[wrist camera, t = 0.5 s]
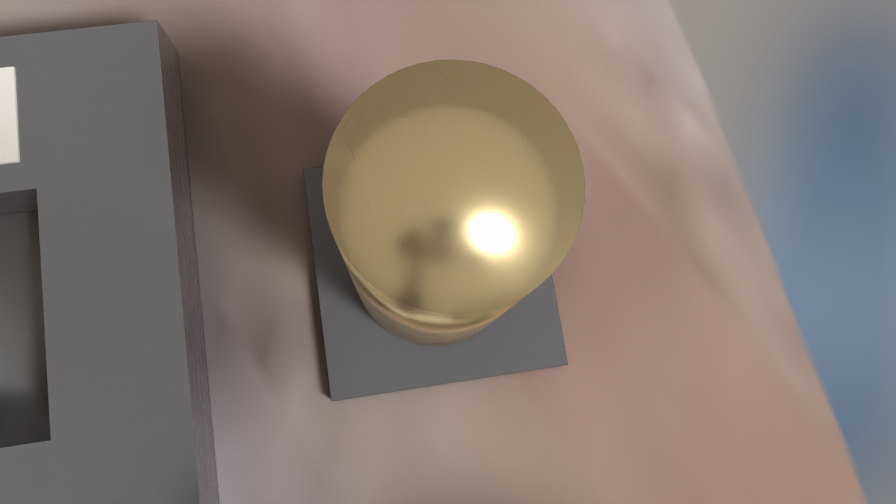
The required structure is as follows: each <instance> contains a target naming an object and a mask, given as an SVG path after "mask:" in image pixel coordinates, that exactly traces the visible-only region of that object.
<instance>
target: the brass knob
mask: <svg viewBox="0 0 896 504" xmlns="http://www.w3.org/2000/svg"><path fill="white" fill-rule="evenodd" d="M322 188H323V202H324V207H325V212H326V217H327V220H328V223H329V226H330V229H331V232H332V234H333V237H334V239H335V241H336V244H337V246H338V248H339V250H340V253H341V255H342V257H343V260H344V262H345V264H346V267H347V269H348V271H349V274H350V276H351V278H352V281H353V283H354V285H355V288H356V290H357V292H358V295H359V297H360V299H361V301H362V303H363V305H364V307H365V308H366V310H367V311H368V313H369V314H370V316H371V317H372V318H373V319H374V320H375V321H376V322H377V323H378V324H379V325H380V326H381V327H382V328H383V329H385V330H386V331H387V332H389V333H391V334H392V335H394V336H396V337H398V338H400V339H402V340H404V341H407V342H410V343H413V344H418V345H424V346H444V345H450V344H454V343H458V342H461V341H463V340H466V339H468V338H470V337H472V336H474V335H476V334H477V333H479V332H480V331H481V330H483V329H484V328H486V327H487V326H488V325H489V324H491V323H492V322H493V321H494V320H496V319H497V318H498V317H500V316H501V315H502V314H503V313H505V312H506V311H507V310H509V309H510V308H511V307H512V306H514V305H515V304H516V303H518V302H519V301H520V300H521V299H523V298H524V297H525V296H527V295H528V294H529V293H530V292H532V291H533V290H534V289H536V288H537V287H538V286H539V285H540V284H541V283H543V282H544V281H545V280H546V279H547V278H548V277H549V276H550V275H551V274H552V273H553V272H554V271H555V269H556V268H557V267H558V266H559V265H560V263H561V262H562V261H563V259H564V258H565V256H566V255H567V253H568V251H569V250H570V248H571V246H572V244H573V242H574V240H575V237H576V235H577V233H578V230H579V227H580V223H581V220H582V216H583V210H584V203H585V176H584V168H583V163H582V159H581V156H580V152H579V149H578V146H577V144H576V141H575V139H574V136H573V134H572V132H571V131H570V129H569V127H568V125H567V124H566V122H565V120H564V119H563V117H562V116H561V115H560V113H559V112H558V111H557V109H556V108H555V107H554V106H553V105H552V104H551V103H550V102H549V101H548V100H547V98H546V97H545V96H544V95H542V94H541V93H540V92H539V91H537V90H536V89H535V88H534V87H533V86H531V85H530V84H528V83H527V82H525V81H524V80H522V79H520V78H519V77H517V76H515V75H513V74H511V73H509V72H507V71H504V70H502V69H500V68H497V67H494V66H490V65H487V64H483V63H478V62H473V61H466V60H435V61H430V62H424V63H419V64H416V65H413V66H409V67H406V68H403V69H401V70H399V71H397V72H394V73H392V74H390V75H388V76H386V77H385V78H383V79H382V80H380V81H378V82H377V83H375V84H374V85H372V86H371V87H370V88H369V89H368V90H366V91H365V92H364V93H363V94H361V96H360V97H359V98H358V99H357V100H356V101H355V102H354V103H353V104H352V105H351V106H350V107H349V109H348V110H347V112H346V113H345V114H344V116H343V117H342V119H341V120H340V122H339V124H338V126H337V128H336V130H335V131H334V133H333V135H332V138H331V141H330V144H329V146H328V149H327V153H326V157H325V162H324V167H323V179H322Z"/></svg>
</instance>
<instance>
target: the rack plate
mask: <svg viewBox="0 0 896 504" xmlns="http://www.w3.org/2000/svg"><path fill="white" fill-rule="evenodd" d="M35 210H38V221H39V239H40V257H41V275H42V293H43V311H44V329H45V347H46V365H47V383H48V401H49V419H50V436H51V440H49V441H42V442H36V443H29V444H23V445H16V446H10V447H3V448H0V504H219V495H218V484H217V473H216V462H215V452H214V441H213V430H212V420H211V409H210V398H209V387H208V377H207V366H206V355H205V344H204V334H203V323H202V312H201V302H200V291H199V280H198V269H197V259H196V248H195V237H194V227H193V216H192V205H191V194H190V184H189V173H188V162H187V152H186V141H185V130H184V119H183V109H182V98H181V87H180V77H179V66H178V55H177V50H176V49H175V47H174V46H173V44H172V43H171V41H170V39H169V38H168V36H167V35H166V33H165V32H164V30H163V29H162V27H161V26H160V24H159V23H158V21H157V20H153V21H144V22H134V23H125V24H116V25H106V26H97V27H88V28H78V29H69V30H59V31H50V32H41V33H31V34H22V35H12V36H3V37H0V215H3V214H11V213H19V212H27V211H35Z"/></svg>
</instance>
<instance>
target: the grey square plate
mask: <svg viewBox="0 0 896 504" xmlns="http://www.w3.org/2000/svg"><path fill="white" fill-rule="evenodd" d="M303 171H304V180H305V188H306V196H307V204H308V212H309V221H310V229H311V237H312V245H313V254H314V262H315V270H316V278H317V286H318V295H319V303H320V311H321V319H322V328H323V336H324V344H325V352H326V360H327V369H328V377H329V385H330V393H331V401H337V400H343V399H350V398H356V397H363V396H369V395H376V394H382V393H389V392H395V391H402V390H408V389H415V388H421V387H428V386H434V385H441V384H447V383H454V382H460V381H467V380H473V379H480V378H487V377H493V376H500V375H506V374H513V373H519V372H526V371H532V370H539V369H545V368H552V367H558V366H565V365H568V362H567V356H566V351H565V345H564V339H563V334H562V328H561V323H560V317H559V311H558V306H557V300H556V294H555V289H554V283H553V278H552V274H551V275H550V276H549V277H548V278H547V279H546V280H545V281H544V282H543V283H541V284H540V285H539V286H538V287H537V288H536V289H534V290H533V291H532V292H530V293H529V294H528V295H527V296H525V297H524V298H523V299H521V300H520V301H519V302H518V303H516V304H515V305H514V306H512V307H511V308H510V309H509V310H507V311H506V312H505V313H503V314H502V315H501V316H500V317H498V318H497V319H496V320H494V321H493V322H492V323H491V324H489V325H488V326H487V327H486V328H484V329H483V330H481V331H480V332H479V333H477V334H476V335H474V336H472V337H470V338H468V339H466V340H463V341H461V342H458V343H454V344H450V345H444V346H424V345H418V344H413V343H410V342H407V341H404V340H402V339H400V338H398V337H396V336H394V335H392V334H391V333H389V332H387V331H386V330H385V329H383V328H382V327H381V326H380V325H379V324H378V323H377V322H376V321H375V320H374V319H373V318H372V317H371V316H370V314H369V313H368V311H367V310H366V308H365V307H364V305H363V303H362V301H361V299H360V297H359V295H358V292H357V290H356V288H355V285H354V283H353V281H352V278H351V276H350V274H349V271H348V269H347V267H346V264H345V262H344V260H343V257H342V255H341V253H340V250H339V248H338V246H337V244H336V241H335V239H334V237H333V234H332V232H331V229H330V226H329V223H328V220H327V217H326V212H325V207H324V202H323V188H322V179H323V167H317V168H310V169H303Z"/></svg>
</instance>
